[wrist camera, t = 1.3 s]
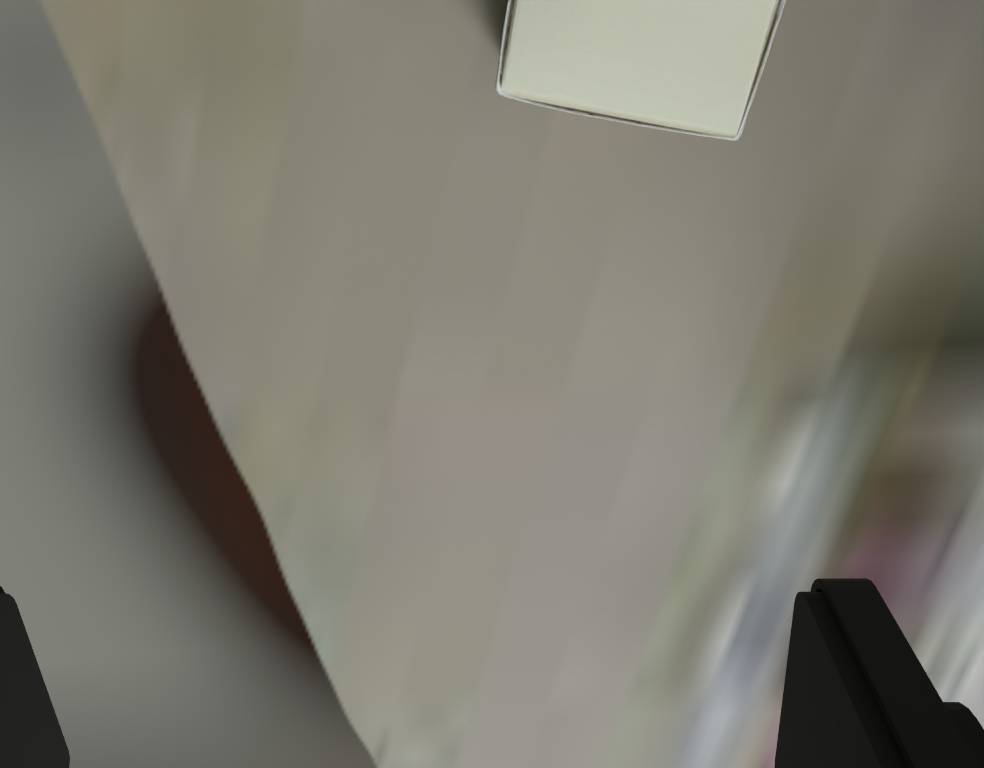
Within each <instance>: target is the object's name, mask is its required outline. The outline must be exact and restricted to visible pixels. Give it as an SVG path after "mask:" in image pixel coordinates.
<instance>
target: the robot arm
mask: <svg viewBox="0 0 984 768" xmlns="http://www.w3.org/2000/svg"><path fill="white" fill-rule="evenodd" d="M69 763H70V756H69V751H68V748H67V745H66V742H65V739H64V736H63V734H62V731H61V728H60V725H59V722H58V720H57V717H56V714H55V711H54V708H53V706H52V703H51V700H50V697H49V694H48V691H47V688H46V686H45V683H44V680H43V678H42V674H41V672H40V669H39V666H38V663H37V660H36V657H35V655H34V652H33V649H32V646H31V643H30V641H29V638H28V635H27V632H26V629H25V626H24V624H23V621H22V618H21V615H20V612H19V609H18V607H17V604H16V602H15V600H14V598H13V597H12V596H11V595H9V594H6V593H5V592H4V590H3V589H2V587H1V586H0V768H69ZM775 768H984V729H983V728H982V726H981V724H980V723H979V721H978V720H977V719H976V717H975V716H974V715H973V714H972V712H971V711H970V710H969V709H968V708H967V707H965V706H964V705H963V704H961V703H960V702H943V701H942V700H941V698H940V696H939V695H938V693H937V691H936V689H935V688H934V686H933V684H932V683H931V681H930V679H929V677H928V676H927V674H926V672H925V671H924V669H923V667H922V665H921V664H920V662H919V660H918V659H917V657H916V655H915V653H914V652H913V650H912V648H911V647H910V645H909V643H908V641H907V640H906V638H905V636H904V635H903V633H902V631H901V629H900V628H899V626H898V624H897V622H896V621H895V619H894V617H893V616H892V614H891V612H890V610H889V609H888V607H887V605H886V604H885V602H884V600H883V598H882V597H881V595H880V593H879V592H878V590H877V588H876V587H875V585H874V584H873V583H872V581H870V580H868V579H816V580H815V581H814V583H813V584H812V588H811V592H799V593H797V595H796V598H795V603H794V611H793V619H792V627H791V635H790V643H789V651H788V660H787V668H786V676H785V684H784V692H783V700H782V708H781V716H780V724H779V733H778V741H777V749H776V757H775Z"/></svg>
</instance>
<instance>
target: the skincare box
mask: <svg viewBox="0 0 984 768" xmlns="http://www.w3.org/2000/svg"><path fill="white" fill-rule="evenodd" d="M785 2H786V0H508V4H507V9H506V15H505V21H504V27H503V34H502V41H501V48H500V55H499V62H498V70H497V77H496V91H497V93H498V94H500V95H502V96H504V97H508V98H512V99H516V100H519V101H523V102H527V103H531V104H535V105H539V106H543V107H547V108H551V109H555V110H559V111H564V112H569V113H573V114H579V115H584V116H588V117H593V118H599V119H604V120H609V121H615V122H621V123H626V124H631V125H637V126H642V127H648V128H654V129H660V130H666V131H672V132H679V133H686V134H692V135H698V136H705V137H712V138H718V139H725V140H732V141H735V140H738V139H739V137H740V136H741V134H742V131H743V128H744V125H745V122H746V118H747V115H748V112H749V110H750V107H751V104H752V101H753V99H754V96H755V93H756V90H757V87H758V84H759V81H760V78H761V76H762V73H763V69H764V66H765V64H766V61H767V57H768V55H769V52H770V48H771V45H772V42H773V39H774V36H775V32H776V29H777V27H778V24H779V21H780V18H781V15H782V12H783V8H784V5H785Z"/></svg>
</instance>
